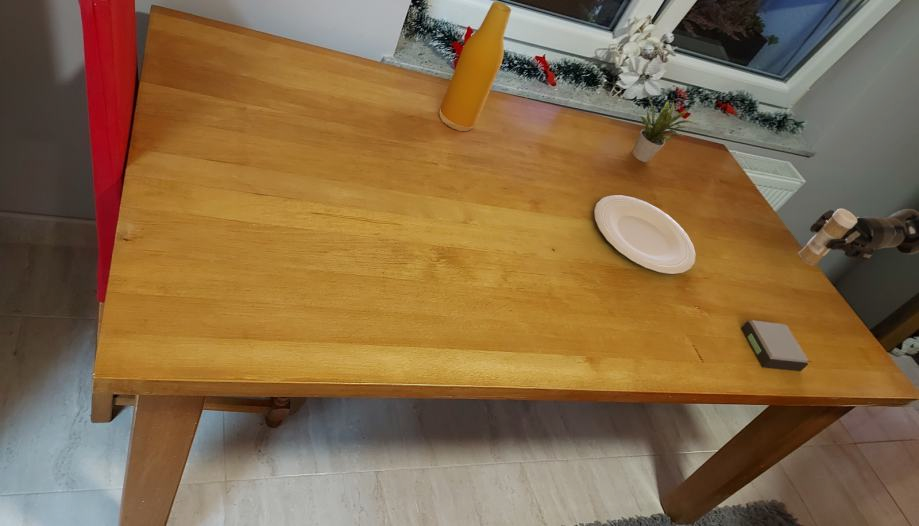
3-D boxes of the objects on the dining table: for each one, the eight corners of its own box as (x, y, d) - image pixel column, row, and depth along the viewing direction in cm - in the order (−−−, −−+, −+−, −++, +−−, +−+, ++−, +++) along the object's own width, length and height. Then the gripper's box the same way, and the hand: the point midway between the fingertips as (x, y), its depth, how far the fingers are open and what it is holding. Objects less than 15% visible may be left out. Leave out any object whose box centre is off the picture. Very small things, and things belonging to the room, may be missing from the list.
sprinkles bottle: (819, 268, 150) (862, 223, 141) (803, 265, 148) (846, 220, 140) (808, 253, 153) (850, 208, 144) (793, 251, 151) (834, 206, 143)
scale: (777, 332, 145) (787, 323, 143) (800, 371, 138) (811, 362, 136) (739, 328, 141) (748, 318, 139) (761, 367, 135) (771, 357, 133)
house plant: (676, 179, 178) (712, 128, 168) (633, 173, 173) (667, 120, 162) (654, 146, 187) (687, 96, 177) (612, 138, 182) (643, 86, 171)
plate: (694, 295, 144) (699, 289, 143) (587, 249, 142) (591, 243, 141) (688, 227, 163) (692, 221, 162) (593, 186, 161) (597, 180, 160)
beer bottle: (461, 108, 166) (506, -4, 147) (481, 131, 161) (530, 19, 143) (430, 109, 161) (473, -6, 142) (450, 134, 156) (497, 17, 137)
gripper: (856, 199, 154) (810, 200, 146) (904, 244, 146) (857, 247, 138) (834, 223, 159) (788, 225, 151) (879, 268, 151) (832, 272, 143)
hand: (821, 235), depth 144 cm, fingers closed on sprinkles bottle, 4 cm apart
